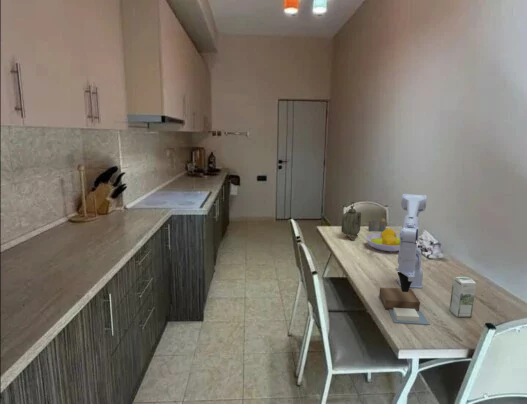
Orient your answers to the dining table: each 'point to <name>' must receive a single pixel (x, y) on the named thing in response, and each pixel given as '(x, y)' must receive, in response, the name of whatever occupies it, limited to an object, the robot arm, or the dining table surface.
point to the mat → (421, 321)
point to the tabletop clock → (351, 222)
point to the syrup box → (462, 296)
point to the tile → (406, 314)
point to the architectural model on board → (377, 225)
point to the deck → (398, 299)
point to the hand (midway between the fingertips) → (404, 291)
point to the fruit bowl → (384, 240)
